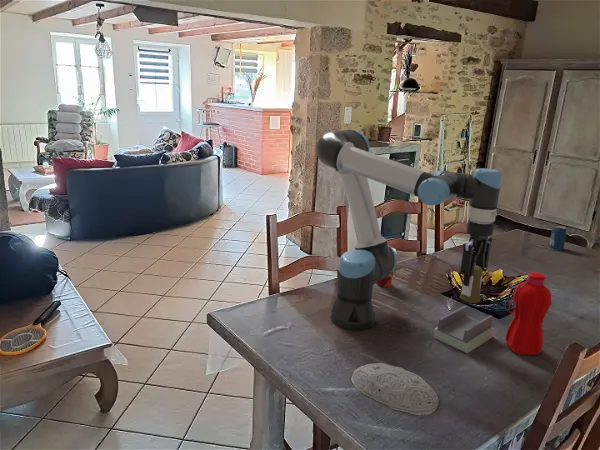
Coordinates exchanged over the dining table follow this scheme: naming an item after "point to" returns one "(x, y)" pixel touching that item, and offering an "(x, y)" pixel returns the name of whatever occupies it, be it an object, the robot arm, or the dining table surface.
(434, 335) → the grey tray
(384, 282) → the coffee cup
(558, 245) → the soda can
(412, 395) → the embossed oval dome
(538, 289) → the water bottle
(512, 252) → the dining table surface
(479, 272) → the olive pepper shaker
